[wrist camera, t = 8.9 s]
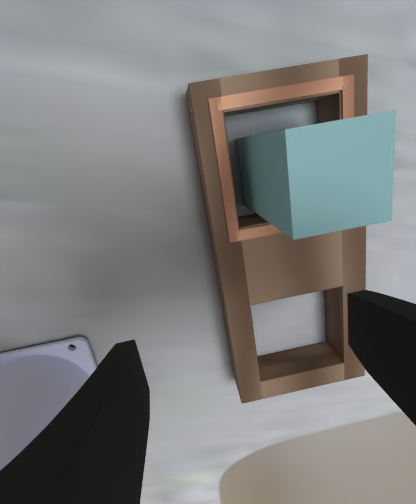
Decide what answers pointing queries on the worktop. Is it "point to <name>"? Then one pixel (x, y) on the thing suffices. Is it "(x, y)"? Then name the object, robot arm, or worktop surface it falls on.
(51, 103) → the worktop surface
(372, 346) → the robot arm
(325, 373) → the wooden double hole frame
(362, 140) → the peg
